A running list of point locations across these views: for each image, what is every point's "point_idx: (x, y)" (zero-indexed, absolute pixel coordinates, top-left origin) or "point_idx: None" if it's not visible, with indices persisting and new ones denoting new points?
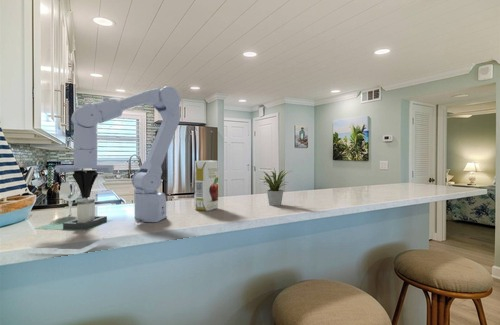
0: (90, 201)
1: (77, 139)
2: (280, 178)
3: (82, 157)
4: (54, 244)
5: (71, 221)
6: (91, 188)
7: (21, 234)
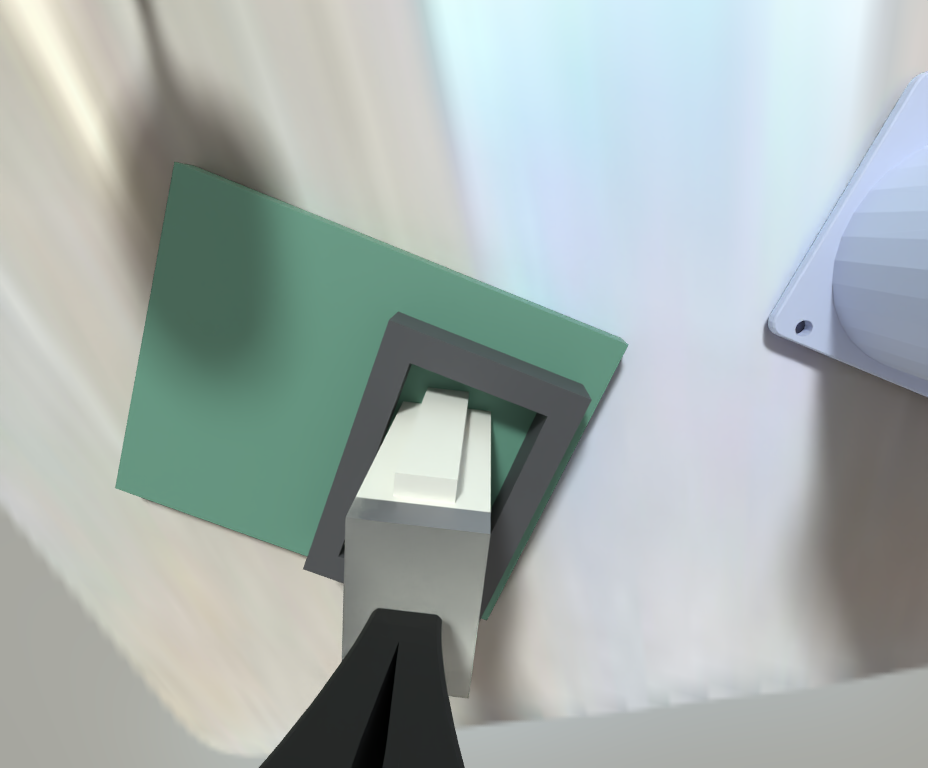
0: (473, 650)
1: None
2: None
3: None
4: None
5: (342, 529)
6: (450, 721)
7: (84, 501)
